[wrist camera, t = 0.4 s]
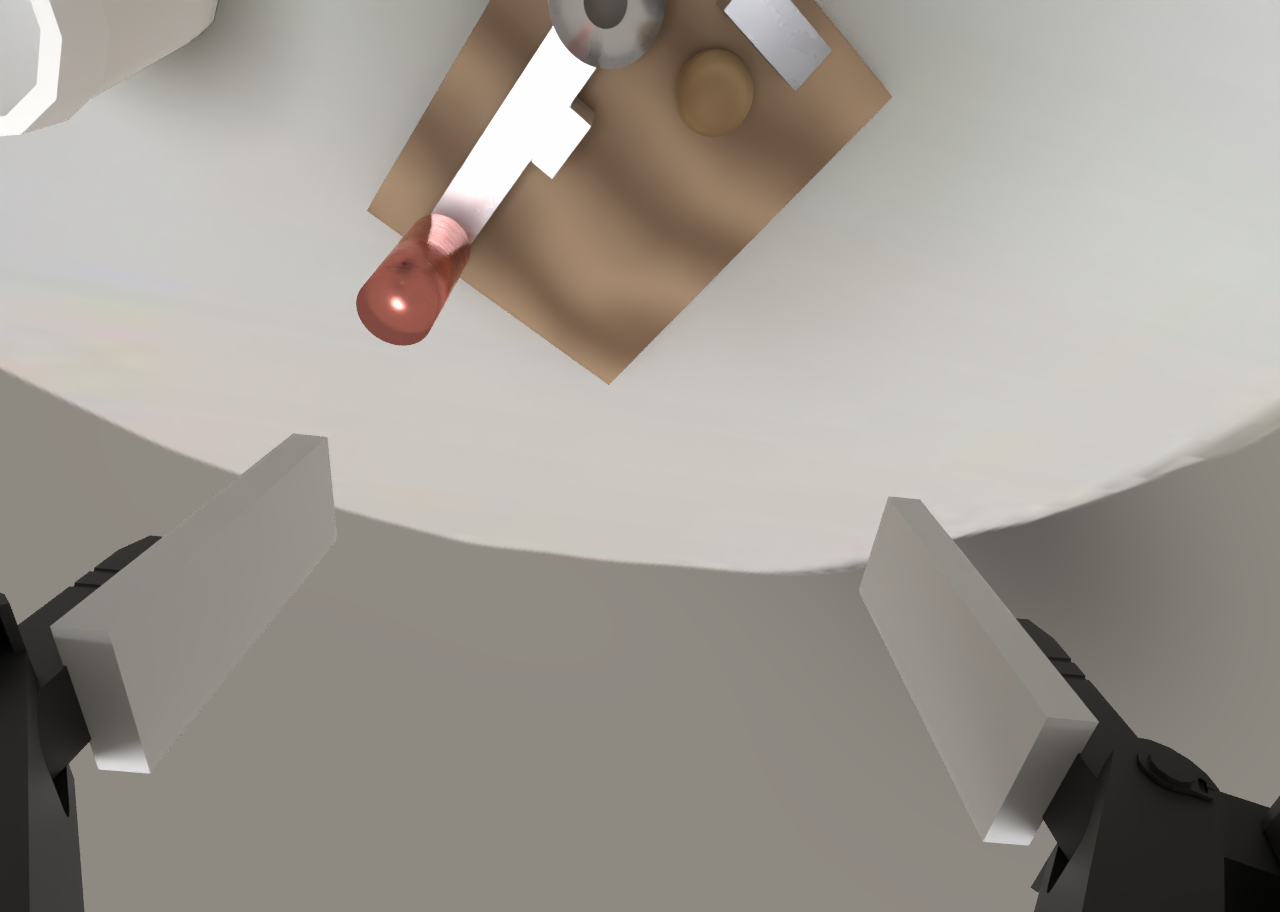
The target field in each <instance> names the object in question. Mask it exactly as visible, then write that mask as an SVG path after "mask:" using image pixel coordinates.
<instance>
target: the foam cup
mask: <svg viewBox="0 0 1280 912" xmlns="http://www.w3.org/2000/svg"><path fill="white" fill-rule="evenodd" d="M217 3H218V0H0V136H8V135H19V134H24V133H27V132H30V131H34V130H37V129H40V128H43V127H47V126H50V125H53V124H56V123H60V122H63V121H66V120H69V119H70V118H71V117H72V116H73V115H74V114H75V113H76V112H77V111H78V110H79V109H80V108H81V107H82V106H83V105H85V104H86V103H87V102H88V101H89V100H90V99H91V98H93V97H95V96H97V95H98V94H100V93H102V92H104V91H105V90H107V89H109V88H111V87H112V86H114V85H116V84H118V83H119V82H121V81H123V80H125V79H126V78H128V77H130V76H132V75H133V74H135V73H137V72H139V71H140V70H142V69H144V68H146V67H147V66H149V65H151V64H153V63H154V62H156V61H158V60H160V59H161V58H163V57H165V56H167V55H168V54H170V53H172V52H174V51H175V50H177V49H179V48H181V47H182V46H184V45H186V44H187V43H189V42H190V41H191V40H192V39H195V38H196V37H197V36H198V35H199V34H200V33H202V32H203V31H204V30H205V29H206V28H207V27H208V26H209V25H210V24H211V23H212V22H213V21H214V17H215V12H216V7H217Z"/></svg>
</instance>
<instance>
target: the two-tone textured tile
mask: <svg viewBox="0 0 1280 912" xmlns="http://www.w3.org/2000/svg"><path fill="white" fill-rule="evenodd" d="M716 5H717V6H718V7H719V8H720V9H721V10H722V11H723V12H724V14H725V15H726V16H727V17H728V18H729V19H730V20H731V21H732V23H733V24H734V25H735V26H736V27H737V28H738V29H739V30H740V32H741V33H742V34H743V35H744V36H745V37H746V38H747V39H748V41H749V42H750V43H751V44H752V45H753V46H754V47H755V48H756V50H757V51H758V52H759V53H760V54H761V55H762V56H763V57H764V59H765V60H766V61H767V62H768V63H769V64H770V65H771V66H772V68H773V69H774V70H775V71H776V72H777V73H778V74H779V75H780V77H781V78H782V79H783V80H784V81H785V82H786V83H787V84H788V85H789V86H790V87H791V88H792V89H793V90H794V91H796V90H797V89H798V88H799V87H800V86H801V85H802V83H803V82H804V81H805V80H806V79H807V78H808V77H809V76H810V74H811V73H812V72H813V71H814V70H815V69H816V68H817V67H818V66H819V64H820V63H821V62H822V61H823V60H824V59H825V58H826V57H827V56H828V54H829V53H830V52H831V51H832V50H831V48H830V47H829V46H828V45H827V44H826V42H825V41H824V40H823V39H822V38H821V36H820V35H819V34H818V33H817V32H816V30H815V29H814V28H813V27H812V26H811V24H810V23H809V22H808V21H807V19H806V18H805V17H804V16H803V15H802V13H801V12H800V11H799V10H798V9H797V7H796V6H795V5H794V4H793V3H792V1H791V0H718V1H717V2H716Z"/></svg>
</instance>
